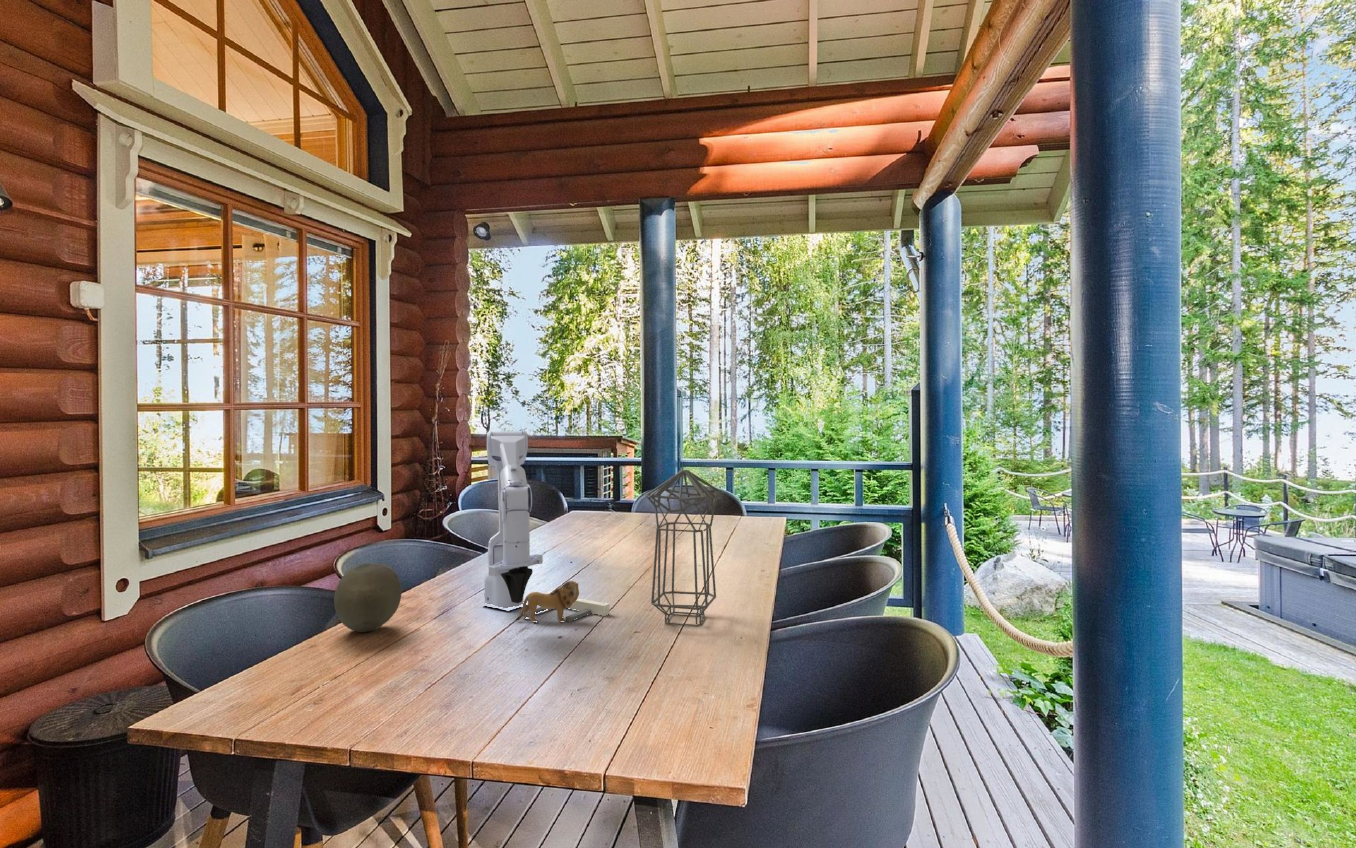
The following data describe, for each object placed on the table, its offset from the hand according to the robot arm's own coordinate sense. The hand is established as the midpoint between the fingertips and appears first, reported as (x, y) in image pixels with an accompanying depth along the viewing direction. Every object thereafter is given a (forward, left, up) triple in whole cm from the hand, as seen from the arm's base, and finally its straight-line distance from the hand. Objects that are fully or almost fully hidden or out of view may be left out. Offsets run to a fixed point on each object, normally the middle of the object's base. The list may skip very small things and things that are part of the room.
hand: (516, 601), depth 148 cm
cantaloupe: (-28, -17, -7) cm, 34 cm away
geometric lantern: (+28, +26, -7) cm, 39 cm away
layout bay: (0, +15, -6) cm, 16 cm away
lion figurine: (+1, +10, -7) cm, 12 cm away
